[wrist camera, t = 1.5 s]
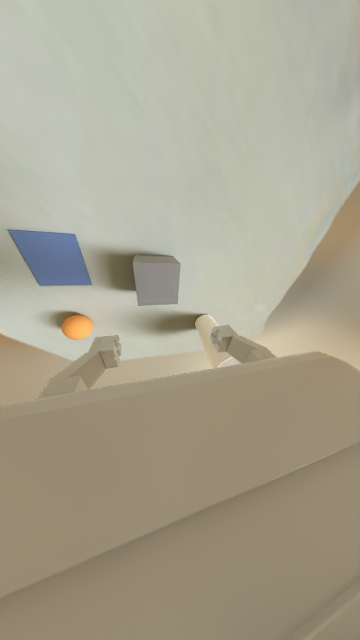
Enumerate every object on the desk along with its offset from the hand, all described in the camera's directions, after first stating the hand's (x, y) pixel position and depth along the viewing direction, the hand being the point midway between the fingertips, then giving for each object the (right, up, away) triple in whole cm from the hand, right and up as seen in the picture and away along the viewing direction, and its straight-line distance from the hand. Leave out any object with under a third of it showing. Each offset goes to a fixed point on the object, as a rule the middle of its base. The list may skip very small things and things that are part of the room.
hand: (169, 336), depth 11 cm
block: (-4, +11, +15) cm, 19 cm away
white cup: (+8, +1, +25) cm, 27 cm away
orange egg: (-20, 0, +15) cm, 25 cm away
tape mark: (-19, +11, +10) cm, 25 cm away
